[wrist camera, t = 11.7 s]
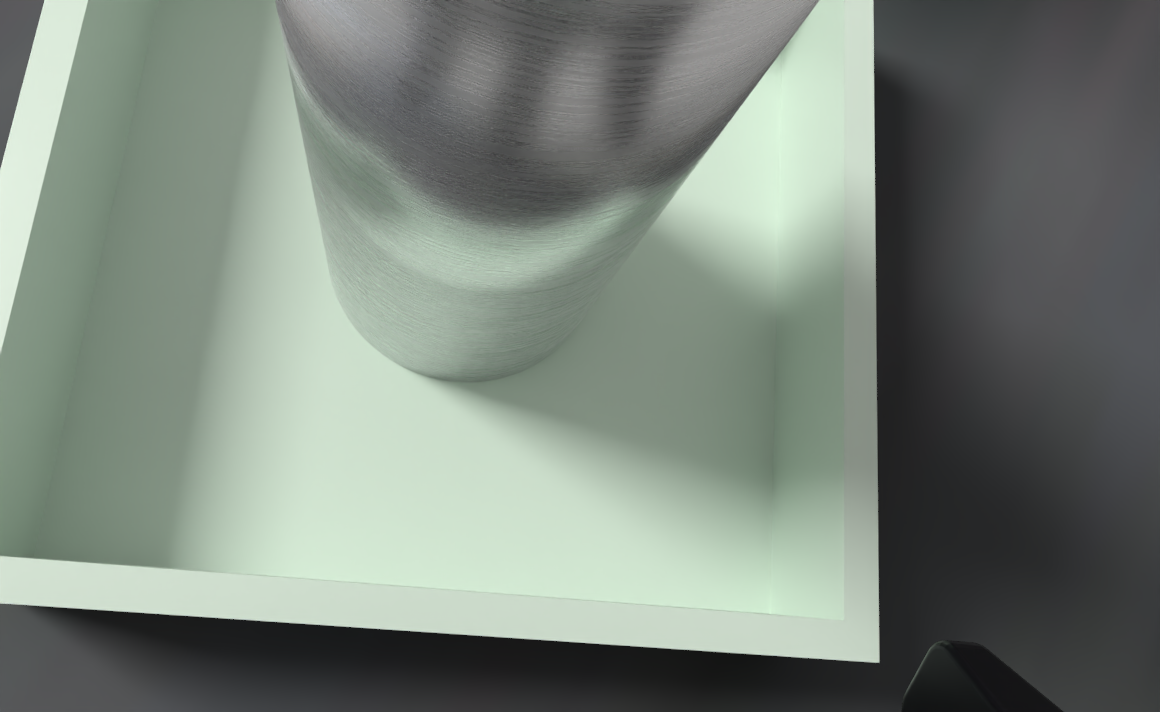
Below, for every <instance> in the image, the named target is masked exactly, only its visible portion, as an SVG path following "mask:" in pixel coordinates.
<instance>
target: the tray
mask: <svg viewBox="0 0 1160 712" xmlns="http://www.w3.org/2000/svg"><path fill="white" fill-rule="evenodd" d="M0 603H4V604H19V605H34V606H48V607H63V608H78V609H93V610H107V611H122V612H137V613H152V614H166V615H181V616H196V617H211V618H225V619H240V620H255V621H269V622H284V623H299V624H314V625H328V626H343V627H358V628H373V629H387V630H402V631H417V632H432V633H446V634H461V635H476V636H491V637H505V638H520V639H535V640H549V641H564V642H579V643H594V644H608V645H623V646H638V647H653V648H667V649H682V650H697V651H712V652H726V653H741V654H756V655H771V656H785V657H800V658H815V659H829V660H844V661H859V662H874V663H879V566H878V458H877V349H876V241H875V133H874V24H873V0H819V2H818V3H817V4H816V6H815V7H814V8H813V10H812V11H811V12H810V14H809V15H808V17H807V18H806V19H805V21H804V22H803V23H802V25H801V26H800V27H799V29H798V30H797V31H796V33H795V34H794V35H793V37H792V38H791V39H790V41H789V42H788V43H787V45H786V46H785V47H784V49H783V50H782V52H781V53H780V54H779V56H778V57H777V58H776V60H775V61H774V62H773V64H772V65H771V66H770V68H769V69H768V70H767V72H766V73H765V74H764V76H763V77H762V78H761V80H760V81H759V82H758V84H757V85H756V87H755V88H754V89H753V91H752V92H751V93H750V95H749V96H748V97H747V99H746V100H745V101H744V103H743V104H742V105H741V107H740V108H739V109H738V111H737V112H736V113H735V115H734V116H733V117H732V119H731V120H730V122H729V123H728V124H727V126H726V127H725V128H724V130H723V131H722V132H721V134H720V135H719V136H718V138H717V139H716V140H715V142H714V143H713V144H712V146H711V147H710V148H709V150H708V151H707V152H706V154H705V155H704V157H703V158H702V159H701V161H700V162H699V163H698V165H697V166H696V167H695V169H694V170H693V171H692V173H691V174H690V175H689V177H688V178H687V179H686V181H685V182H684V183H683V185H682V186H681V187H680V189H679V190H678V192H677V193H676V194H675V196H674V197H673V198H672V200H671V201H670V202H669V204H668V205H667V206H666V208H665V209H664V210H663V212H662V213H661V214H660V216H659V217H658V218H657V220H656V221H655V222H654V224H653V225H652V227H651V228H650V229H649V231H648V232H647V233H646V235H645V236H644V237H643V239H642V240H641V241H640V243H639V244H638V245H637V247H636V248H635V249H634V251H633V252H632V253H631V255H630V256H629V257H628V259H627V260H626V262H625V263H624V264H623V266H622V267H621V268H620V270H619V271H618V272H617V274H616V275H615V276H614V278H613V279H612V280H611V282H610V283H609V284H608V286H607V287H606V288H605V290H604V291H603V292H602V294H601V295H600V297H599V298H598V299H597V301H596V302H595V303H594V305H593V306H592V307H591V309H590V310H589V311H588V313H587V314H586V315H585V317H584V318H583V319H582V321H581V322H580V323H579V325H578V326H577V327H576V329H575V330H574V331H573V333H572V334H571V335H570V336H569V337H568V338H567V340H566V341H565V342H564V343H563V344H562V345H561V346H560V347H559V348H558V349H557V350H555V351H554V352H553V353H552V354H551V355H550V356H548V357H547V358H545V359H544V360H542V361H541V362H539V363H538V364H536V365H534V366H532V367H530V368H528V369H526V370H524V371H522V372H520V373H517V374H514V375H511V376H508V377H505V378H500V379H495V380H490V381H482V382H453V381H446V380H440V379H435V378H431V377H428V376H425V375H421V374H418V373H415V372H413V371H411V370H409V369H406V368H404V367H402V366H400V365H398V364H396V363H395V362H393V361H392V360H390V359H388V358H387V357H385V356H384V355H382V354H381V353H380V352H378V351H377V350H376V349H375V348H374V347H373V346H371V345H370V344H369V343H368V342H367V341H366V340H365V339H364V338H363V337H362V336H361V335H360V333H359V332H358V331H357V330H356V329H355V328H354V326H353V325H352V323H351V322H350V321H349V319H348V318H347V316H346V315H345V313H344V311H343V309H342V307H341V305H340V303H339V301H338V299H337V297H336V294H335V291H334V288H333V286H332V283H331V279H330V274H329V269H328V264H327V259H326V254H325V249H324V244H323V239H322V233H321V228H320V223H319V218H318V213H317V208H316V203H315V198H314V193H313V188H312V183H311V178H310V173H309V168H308V163H307V158H306V153H305V148H304V143H303V138H302V133H301V128H300V123H299V118H298V113H297V108H296V103H295V98H294V93H293V88H292V83H291V78H290V73H289V68H288V63H287V58H286V53H285V48H284V43H283V37H282V32H281V27H280V22H279V17H278V12H277V7H276V2H275V0H45V1H44V5H43V9H42V12H41V16H40V20H39V24H38V28H37V32H36V35H35V39H34V43H33V47H32V51H31V54H30V58H29V62H28V66H27V70H26V74H25V77H24V81H23V85H22V89H21V93H20V96H19V100H18V104H17V108H16V112H15V116H14V119H13V123H12V127H11V131H10V135H9V138H8V142H7V146H6V150H5V154H4V158H3V161H2V165H1V169H0Z"/></svg>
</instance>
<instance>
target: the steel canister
mask: <svg viewBox="0 0 1160 712" xmlns="http://www.w3.org/2000/svg"><path fill="white" fill-rule="evenodd" d="M275 2H276V7H277V12H278V17H279V22H280V27H281V32H282V37H283V43H284V48H285V53H286V58H287V63H288V68H289V73H290V78H291V83H292V88H293V93H294V98H295V103H296V108H297V113H298V118H299V123H300V128H301V133H302V138H303V143H304V148H305V153H306V158H307V163H308V168H309V173H310V178H311V183H312V188H313V193H314V198H315V203H316V208H317V213H318V218H319V223H320V228H321V233H322V239H323V244H324V249H325V254H326V259H327V264H328V269H329V274H330V279H331V283H332V286H333V288H334V291H335V294H336V297H337V299H338V301H339V303H340V305H341V307H342V309H343V311H344V313H345V315H346V316H347V318H348V319H349V321H350V322H351V323H352V325H353V326H354V328H355V329H356V330H357V331H358V332H359V333H360V335H361V336H362V337H363V338H364V339H365V340H366V341H367V342H368V343H369V344H370V345H371V346H373V347H374V348H375V349H376V350H377V351H378V352H380V353H381V354H382V355H384V356H385V357H387V358H388V359H390V360H392V361H393V362H395V363H396V364H398V365H400V366H402V367H404V368H406V369H409V370H411V371H413V372H415V373H418V374H421V375H425V376H428V377H431V378H435V379H440V380H446V381H453V382H482V381H490V380H495V379H500V378H505V377H508V376H511V375H514V374H517V373H520V372H522V371H524V370H526V369H528V368H530V367H532V366H534V365H536V364H538V363H539V362H541V361H542V360H544V359H545V358H547V357H548V356H550V355H551V354H552V353H553V352H554V351H555V350H557V349H558V348H559V347H560V346H561V345H562V344H563V343H564V342H565V341H566V340H567V338H568V337H569V336H570V335H571V334H572V333H573V331H574V330H575V329H576V327H577V326H578V325H579V323H580V322H581V321H582V319H583V318H584V317H585V315H586V314H587V313H588V311H589V310H590V309H591V307H592V306H593V305H594V303H595V302H596V301H597V299H598V298H599V297H600V295H601V294H602V292H603V291H604V290H605V288H606V287H607V286H608V284H609V283H610V282H611V280H612V279H613V278H614V276H615V275H616V274H617V272H618V271H619V270H620V268H621V267H622V266H623V264H624V263H625V262H626V260H627V259H628V257H629V256H630V255H631V253H632V252H633V251H634V249H635V248H636V247H637V245H638V244H639V243H640V241H641V240H642V239H643V237H644V236H645V235H646V233H647V232H648V231H649V229H650V228H651V227H652V225H653V224H654V222H655V221H656V220H657V218H658V217H659V216H660V214H661V213H662V212H663V210H664V209H665V208H666V206H667V205H668V204H669V202H670V201H671V200H672V198H673V197H674V196H675V194H676V193H677V192H678V190H679V189H680V187H681V186H682V185H683V183H684V182H685V181H686V179H687V178H688V177H689V175H690V174H691V173H692V171H693V170H694V169H695V167H696V166H697V165H698V163H699V162H700V161H701V159H702V158H703V157H704V155H705V154H706V152H707V151H708V150H709V148H710V147H711V146H712V144H713V143H714V142H715V140H716V139H717V138H718V136H719V135H720V134H721V132H722V131H723V130H724V128H725V127H726V126H727V124H728V123H729V122H730V120H731V119H732V117H733V116H734V115H735V113H736V112H737V111H738V109H739V108H740V107H741V105H742V104H743V103H744V101H745V100H746V99H747V97H748V96H749V95H750V93H751V92H752V91H753V89H754V88H755V87H756V85H757V84H758V82H759V81H760V80H761V78H762V77H763V76H764V74H765V73H766V72H767V70H768V69H769V68H770V66H771V65H772V64H773V62H774V61H775V60H776V58H777V57H778V56H779V54H780V53H781V52H782V50H783V49H784V47H785V46H786V45H787V43H788V42H789V41H790V39H791V38H792V37H793V35H794V34H795V33H796V31H797V30H798V29H799V27H800V26H801V25H802V23H803V22H804V21H805V19H806V18H807V17H808V15H809V14H810V12H811V11H812V10H813V8H814V7H815V6H816V4H817V3H818V2H819V0H275Z"/></svg>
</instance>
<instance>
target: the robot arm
mask: <svg viewBox="0 0 1160 712" xmlns="http://www.w3.org/2000/svg"><path fill="white" fill-rule="evenodd" d="M902 712H1063V711H1062V710H1061V709H1060V708H1058V707H1057V706H1056V705H1055V704H1053V703H1052V702H1051V701H1050V700H1049V699H1047V698H1046V697H1045V696H1044V695H1043V694H1041V693H1040V692H1039V691H1038V690H1036V689H1035V688H1034V687H1033V686H1032V685H1030V684H1029V683H1028V682H1027V681H1025V680H1024V679H1023V678H1022V677H1021V676H1019V675H1018V674H1017V673H1016V672H1015V671H1013V670H1012V669H1011V668H1010V667H1008V666H1007V665H1006V664H1005V663H1004V662H1002V661H1001V660H1000V659H999V658H998V657H996V656H995V655H994V654H993V653H991V652H990V651H989V650H988V649H986V648H985V647H984V646H982V645H980V644H977V643H973V642H960V641H947V640H943V641H938V642H937V643H935V644H934V645H932V646H931V648H930V649H929V651H928V652H927V654H926V656H925V658H924V660H923V662H922V663H921V665H920V667H919V669H918V671H917V672H916V674H915V676H914V678H913V680H912V682H911V683H910V685H909V687H908V689H907V691H906V693H905V695H904V698H903V702H902Z"/></svg>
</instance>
